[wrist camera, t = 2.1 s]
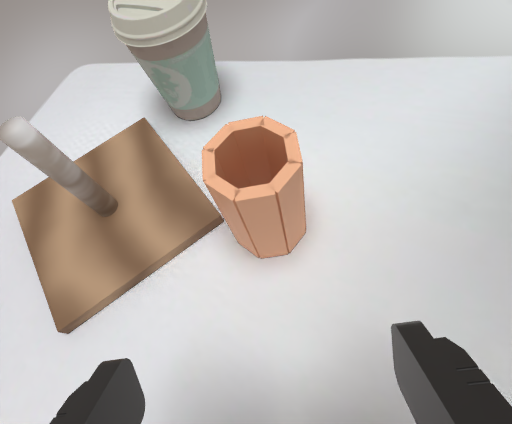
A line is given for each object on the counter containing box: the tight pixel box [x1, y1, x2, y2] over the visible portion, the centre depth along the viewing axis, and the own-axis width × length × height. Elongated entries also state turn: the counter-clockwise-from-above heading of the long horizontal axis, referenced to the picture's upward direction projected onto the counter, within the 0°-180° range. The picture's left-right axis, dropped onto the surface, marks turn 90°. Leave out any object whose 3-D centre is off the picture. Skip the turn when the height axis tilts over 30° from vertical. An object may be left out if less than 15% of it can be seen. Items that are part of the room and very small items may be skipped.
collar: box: [202, 116, 306, 258], centre depth 24 cm, size 6×6×10 cm
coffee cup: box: [108, 0, 221, 120], centre depth 31 cm, size 8×9×12 cm
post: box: [0, 117, 224, 334], centre depth 26 cm, size 16×16×12 cm
